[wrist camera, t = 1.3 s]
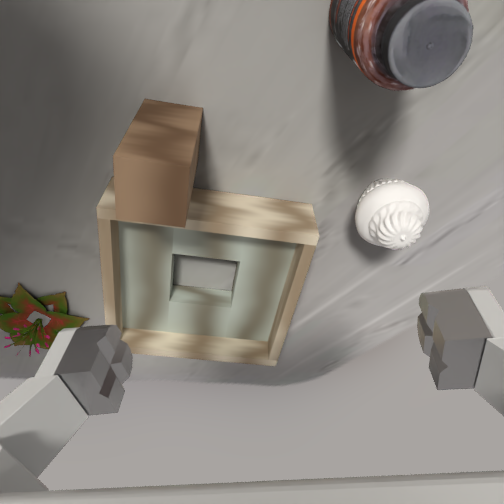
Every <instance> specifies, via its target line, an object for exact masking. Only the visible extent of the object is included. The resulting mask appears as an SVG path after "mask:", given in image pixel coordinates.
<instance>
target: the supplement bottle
mask: <svg viewBox="0 0 504 504" xmlns="http://www.w3.org/2000/svg"><path fill="white" fill-rule="evenodd" d="M468 11H469V9H468V1H467V0H331V4H330V12H329V19H330V26H331V30H332V32H333V35H334V37H335V39H336V41H337V42H338V44H339V45H340V46H341V47H342V49H343V50H344V51H345V52H346V53H347V55H348V56H349V57H350V58H351V59H352V61H353V62H354V63H355V64H356V65H357V66H358V68H359V69H360V70H361V71H362V72H363V73H364V75H365V76H366V77H367V78H368V79H369V80H371V81H372V82H373V83H375V84H376V85H378V86H381V87H383V88H386V89H390V90H397V91H399V90H409V89H414V88H426V87H430V86H434V85H436V84H438V83H440V82H442V81H444V80H445V79H447V78H448V77H449V76H451V75H452V74H453V73H454V72H455V71H456V70H457V69H458V67H459V66H460V65H461V64H462V62H463V61H464V59H465V58H466V56H467V53H468V51H469V49H470V46H471V42H472V35H473V25H472V20H471V17H470V14H469V12H468Z"/></svg>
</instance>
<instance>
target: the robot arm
mask: <svg viewBox="0 0 504 504" xmlns="http://www.w3.org/2000/svg"><path fill="white" fill-rule="evenodd" d="M419 306H420V308H421V311H422V313H421V314H420V315H419V316H418V323H417V327H418V336H419V340H420V344H421V347H422V350H423V352H424V353H425V354H426V355H428V356H429V357H430V362H429V369H430V371H431V374H432V377H433V380H434V382H435V385H436V387H437V390H448V389H470V388H475V389H474V390H475V391H476V392H477V393H478V394H479V395H480V396H481V397H483V398H484V399H485V400H486V401H487V402H488V403H489V404H490V405H492V406H493V407H494V408H495V409H496V410H497V411H498V412H499V413H501V414H502V415H503V416H504V311H503V310H502V308H501V307H500V305H499V303H498V302H497V300H496V299H495V297H494V296H493V294H492V292H491V291H490V289H489V288H488V287H486V286H479V287H470V288H463V289H453V290H444V291H435V292H426V293H421V295H420V299H419ZM121 334H122V333H121V331H120V329H119V328H118V326H117V325H100V326H87V327H78V328H65V329H62V330H61V331H60V332H59V333H58V334H57V336H56V338H55V340H54V342H53V344H52V345H51V347H50V349H49V351H48V353H47V355H46V357H45V358H44V360H43V362H42V364H41V366H40V368H39V369H38V371H37V373H36V375H35V377H31V378H28V379H27V380H26V381H24V382H23V383H22V384H21V385H20V386H18V387H17V388H16V389H15V390H13V391H12V392H11V393H10V394H8V395H7V396H6V397H5V398H4V399H2V400H1V401H0V504H504V471H482V472H460V473H440V474H418V475H417V474H415V475H392V476H370V477H347V478H324V479H301V480H280V481H279V480H278V481H257V482H234V483H212V484H190V485H167V486H145V487H124V488H101V489H78V490H55V491H49V490H48V488H47V487H46V486H45V485H44V484H43V483H42V482H41V481H40V480H39V479H37V478H38V476H39V475H40V474H41V473H42V472H43V470H44V469H45V468H46V467H47V466H48V465H49V463H50V462H51V461H52V460H53V459H54V457H55V456H56V455H57V454H58V453H59V452H60V450H61V449H62V448H63V447H64V446H65V445H66V443H67V442H68V441H69V440H70V439H71V438H72V436H73V435H74V434H75V433H76V432H77V431H78V429H79V428H80V427H81V426H82V425H83V423H84V422H85V421H86V420H87V419H88V417H89V416H88V415H98V414H108V413H117V412H118V410H119V407H120V404H121V401H122V398H123V395H124V392H125V390H124V388H123V386H122V384H123V383H124V382H125V381H126V380H127V379H128V378H129V376H130V373H131V370H132V353H131V349H130V348H129V346H128V344H127V343H125V342H124V341H122V340H120V337H121Z"/></svg>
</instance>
